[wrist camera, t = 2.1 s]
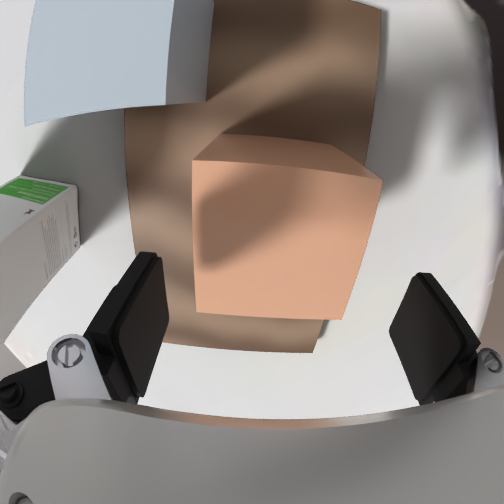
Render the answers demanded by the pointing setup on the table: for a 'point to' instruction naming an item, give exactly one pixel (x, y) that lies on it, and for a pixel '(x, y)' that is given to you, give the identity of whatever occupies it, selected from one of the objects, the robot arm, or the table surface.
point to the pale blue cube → (115, 55)
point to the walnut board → (250, 123)
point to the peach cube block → (279, 226)
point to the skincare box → (33, 241)
